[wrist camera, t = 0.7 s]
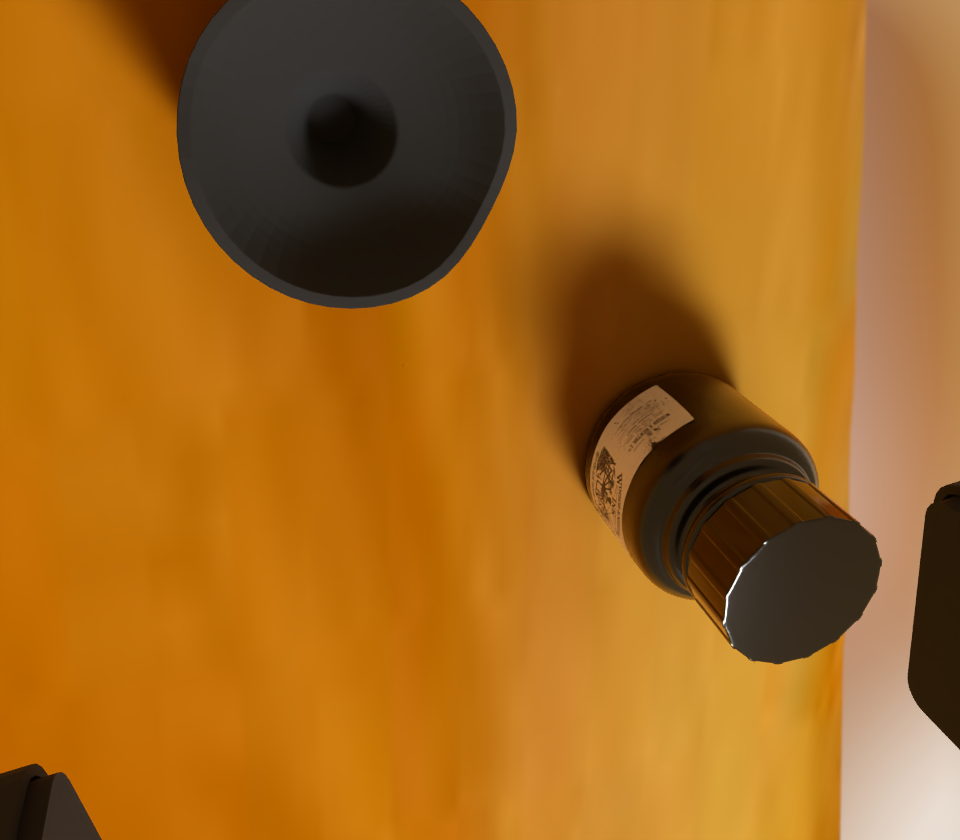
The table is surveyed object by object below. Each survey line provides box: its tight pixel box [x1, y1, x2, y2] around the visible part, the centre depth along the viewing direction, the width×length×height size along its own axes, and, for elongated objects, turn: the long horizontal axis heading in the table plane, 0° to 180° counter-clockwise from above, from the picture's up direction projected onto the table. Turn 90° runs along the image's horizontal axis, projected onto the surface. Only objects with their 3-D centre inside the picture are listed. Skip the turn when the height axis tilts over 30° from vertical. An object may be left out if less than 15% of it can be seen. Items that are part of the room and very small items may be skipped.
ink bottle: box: [585, 372, 882, 664], centre depth 39 cm, size 10×9×12 cm
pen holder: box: [177, 0, 517, 309], centre depth 29 cm, size 9×9×10 cm
